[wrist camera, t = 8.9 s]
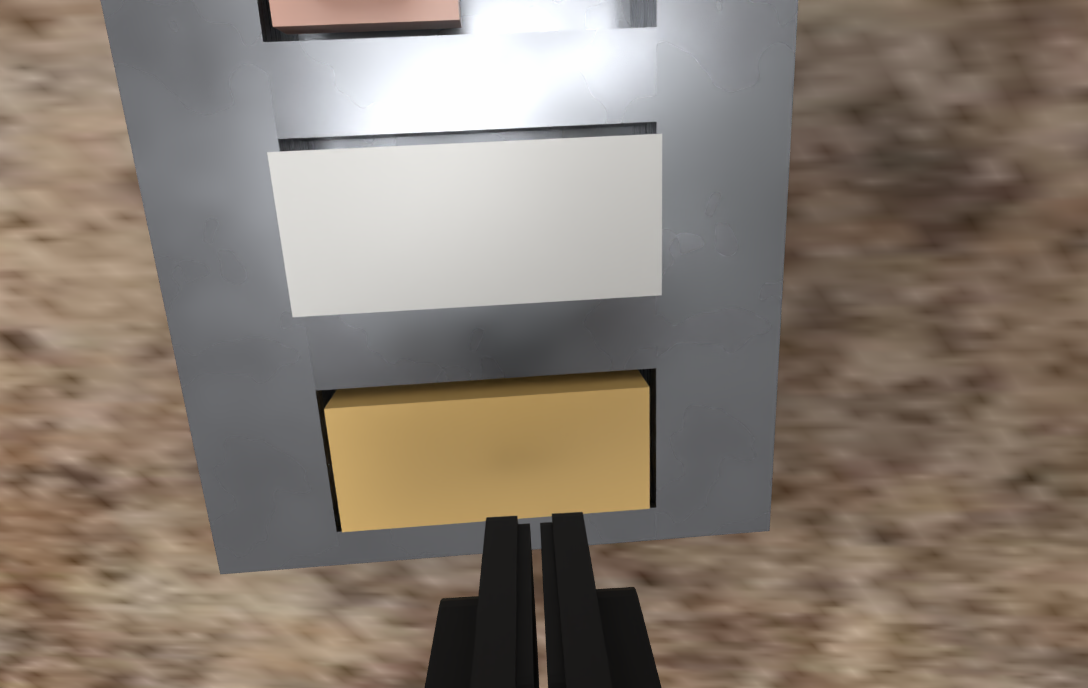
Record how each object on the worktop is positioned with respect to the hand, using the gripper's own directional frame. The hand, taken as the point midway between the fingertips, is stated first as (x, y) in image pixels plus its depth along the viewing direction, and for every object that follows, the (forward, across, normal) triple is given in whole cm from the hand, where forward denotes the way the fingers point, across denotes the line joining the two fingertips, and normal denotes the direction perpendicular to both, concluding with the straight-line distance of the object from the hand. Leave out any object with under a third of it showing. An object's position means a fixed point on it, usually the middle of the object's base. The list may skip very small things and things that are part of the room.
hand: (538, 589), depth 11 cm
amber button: (+7, +1, 0) cm, 7 cm away
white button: (+6, +1, -6) cm, 8 cm away
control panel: (+10, +1, -6) cm, 12 cm away
